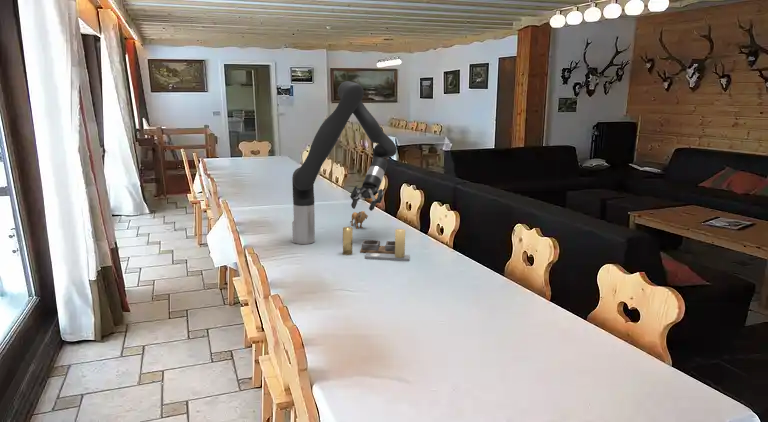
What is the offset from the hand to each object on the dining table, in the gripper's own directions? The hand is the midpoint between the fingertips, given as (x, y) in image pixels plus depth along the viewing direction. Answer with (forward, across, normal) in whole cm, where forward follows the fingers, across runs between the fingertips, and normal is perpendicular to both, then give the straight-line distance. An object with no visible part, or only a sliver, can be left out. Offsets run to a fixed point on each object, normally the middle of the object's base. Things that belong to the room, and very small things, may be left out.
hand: (361, 208), depth 217 cm
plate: (+18, +17, +6) cm, 26 cm away
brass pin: (+20, 0, +4) cm, 21 cm away
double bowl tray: (+13, +11, +11) cm, 20 cm away
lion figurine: (-8, -18, +33) cm, 38 cm away
